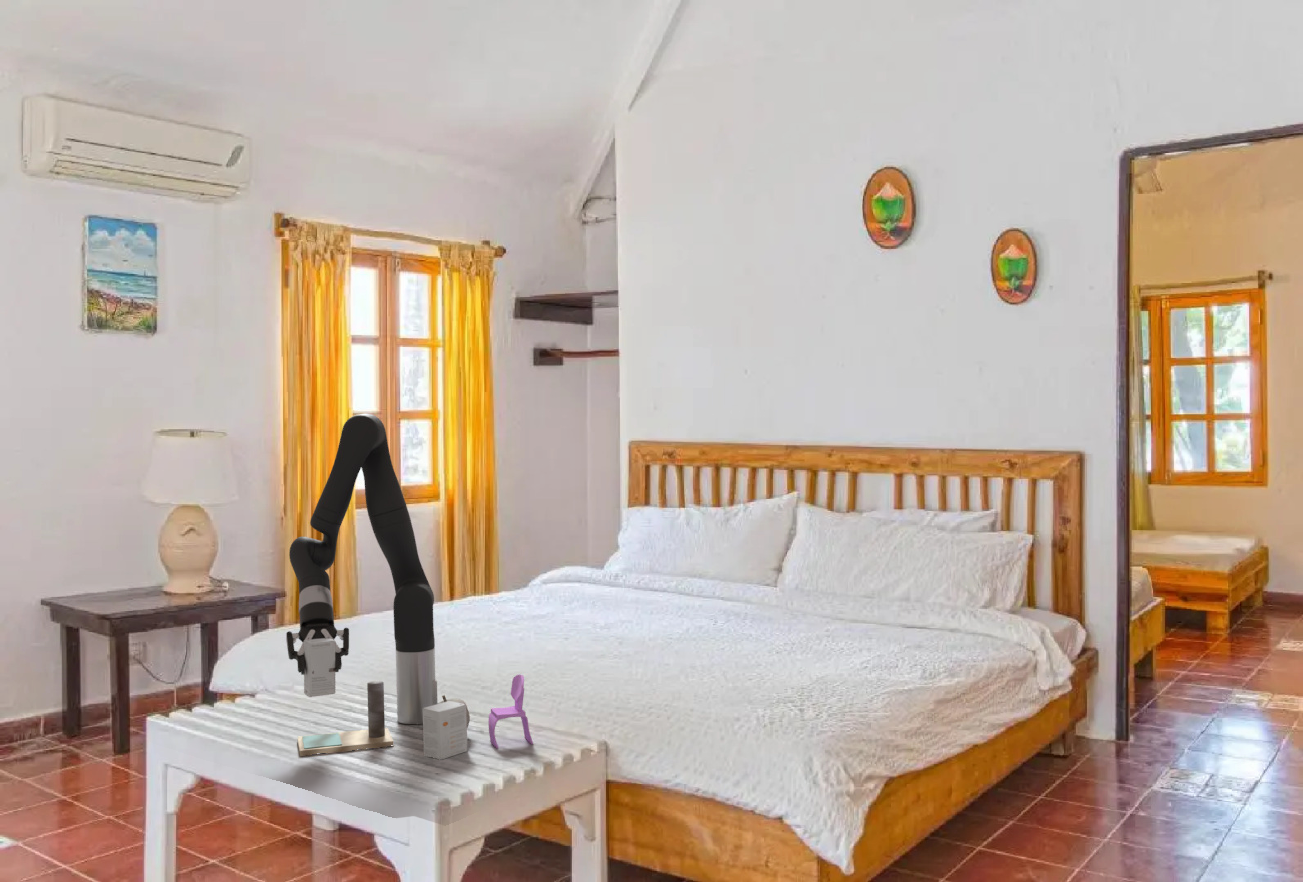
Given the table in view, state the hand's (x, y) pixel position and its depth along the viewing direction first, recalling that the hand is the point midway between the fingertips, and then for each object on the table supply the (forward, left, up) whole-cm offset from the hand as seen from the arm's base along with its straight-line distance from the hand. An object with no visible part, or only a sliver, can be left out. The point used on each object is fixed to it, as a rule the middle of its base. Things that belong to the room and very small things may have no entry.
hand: (320, 671), depth 269 cm
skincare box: (0, -2, -6) cm, 6 cm away
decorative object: (-28, +3, -17) cm, 33 cm away
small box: (-25, +15, -17) cm, 34 cm away
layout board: (-5, -1, -17) cm, 18 cm away
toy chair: (-40, +12, -17) cm, 45 cm away
